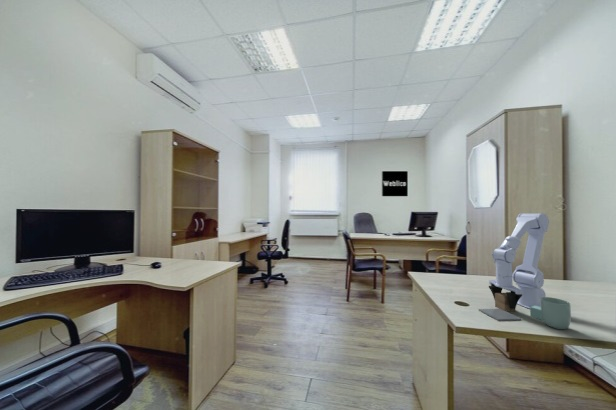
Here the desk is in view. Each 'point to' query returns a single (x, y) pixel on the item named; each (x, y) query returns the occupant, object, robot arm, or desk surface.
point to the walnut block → (502, 302)
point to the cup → (556, 312)
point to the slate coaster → (499, 314)
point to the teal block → (536, 312)
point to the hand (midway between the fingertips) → (504, 304)
